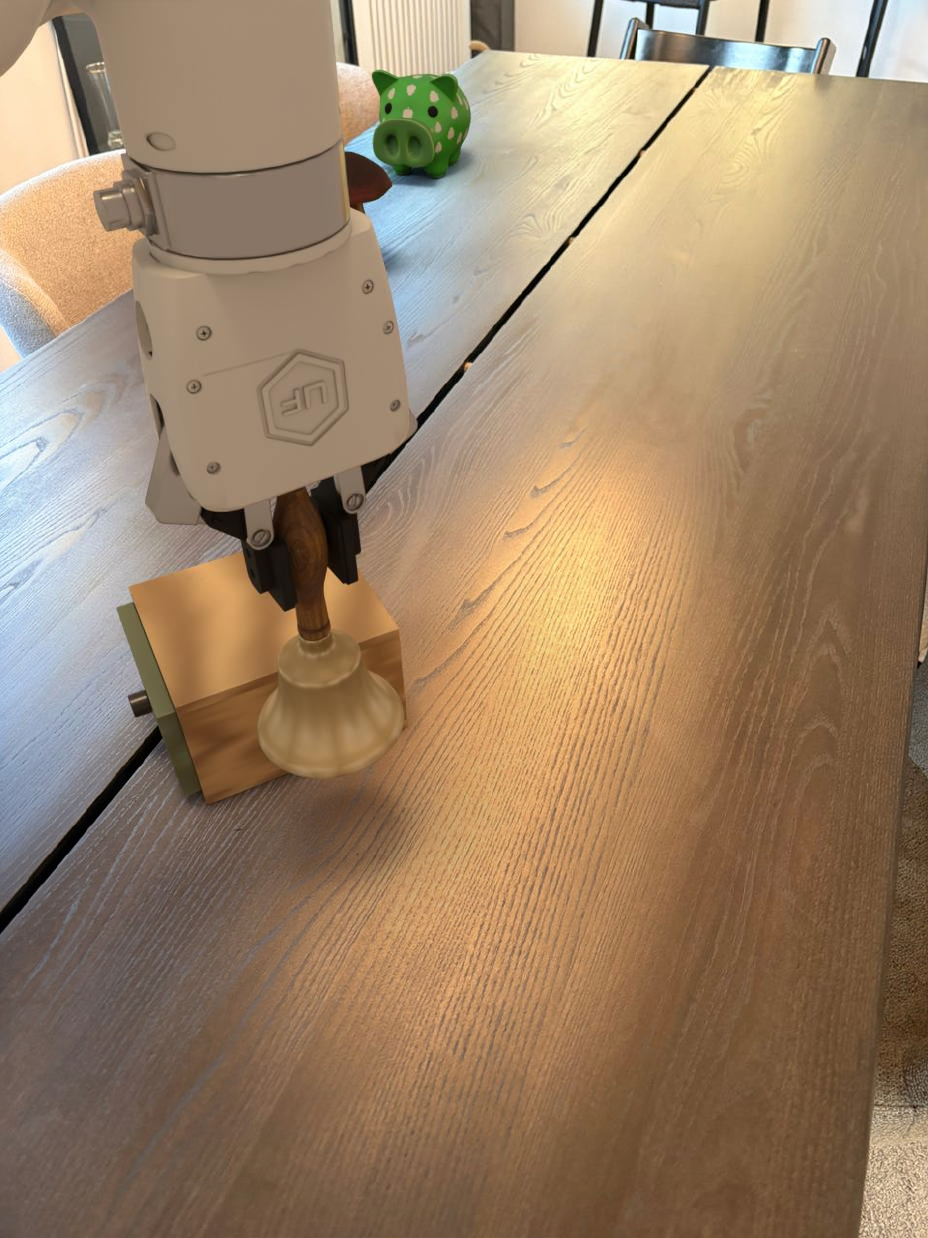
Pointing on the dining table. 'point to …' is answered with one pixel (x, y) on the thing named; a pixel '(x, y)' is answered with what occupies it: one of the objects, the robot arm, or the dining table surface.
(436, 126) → the piggy bank
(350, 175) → the decorative mushroom
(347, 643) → the hand bell
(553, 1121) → the dining table surface
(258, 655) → the cabinet
